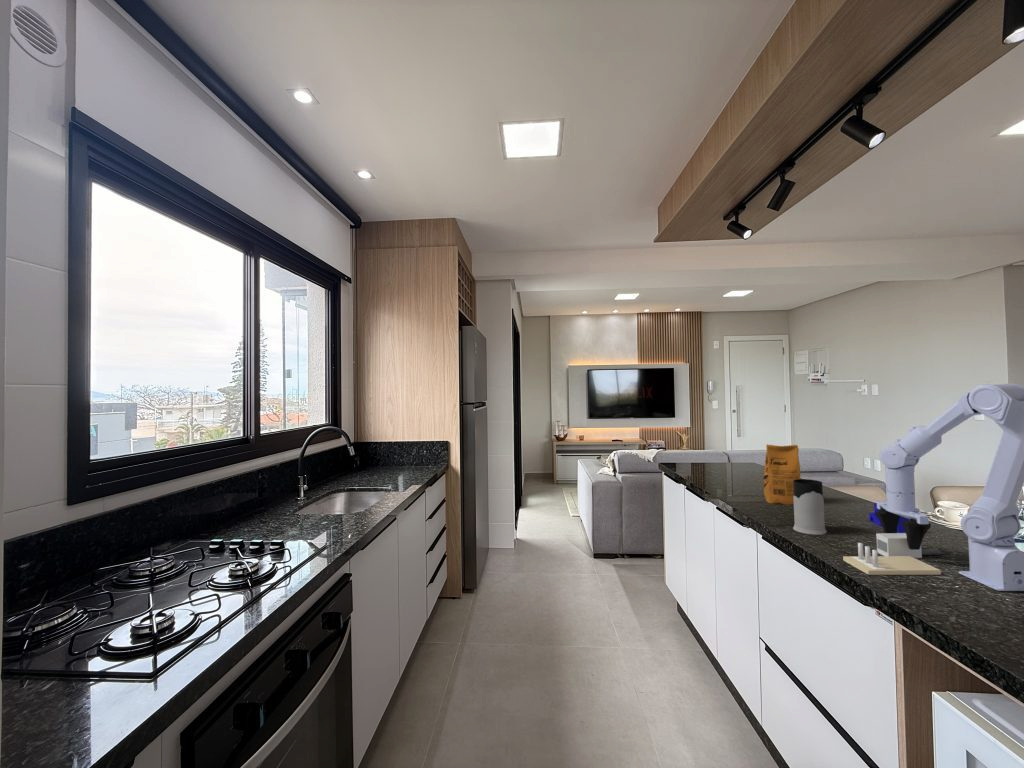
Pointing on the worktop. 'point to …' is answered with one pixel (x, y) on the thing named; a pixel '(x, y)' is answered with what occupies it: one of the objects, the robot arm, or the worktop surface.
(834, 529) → the worktop surface
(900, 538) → the plug housing
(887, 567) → the board
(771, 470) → the coffee package
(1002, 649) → the worktop surface
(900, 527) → the cable clip
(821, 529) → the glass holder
